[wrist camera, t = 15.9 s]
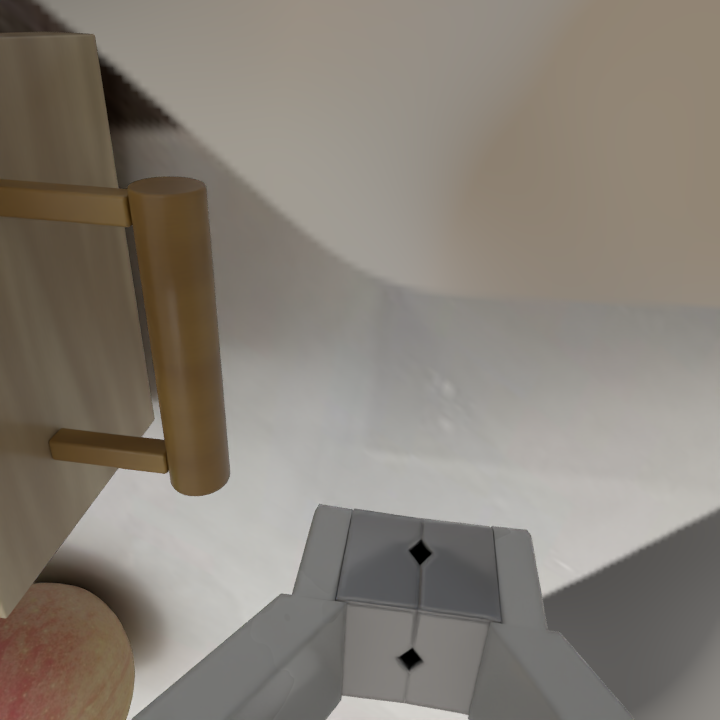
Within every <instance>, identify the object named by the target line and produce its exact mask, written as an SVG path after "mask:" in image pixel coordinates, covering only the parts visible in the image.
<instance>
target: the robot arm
mask: <svg viewBox="0 0 720 720" xmlns="http://www.w3.org/2000/svg"><path fill="white" fill-rule="evenodd" d="M341 696H351V697H359V698H367V699H375V700H383V701H392V702H400V703H407V704H412V705H418V706H423V707H429V708H434V709H440V710H445V711H451V712H457V713H462V714H468V715H469V717H468V719H469V720H635V719H634V718H633V716H632V715H631V714H630V713H629V712H628V711H627V709H626V708H625V707H624V706H623V705H622V704H621V702H620V701H619V700H618V699H617V698H616V697H615V695H614V694H613V693H612V692H611V691H610V690H609V688H608V687H607V686H606V685H605V684H604V683H603V682H602V681H601V679H600V678H599V677H598V676H597V675H596V673H595V672H594V671H593V670H592V669H591V668H590V666H589V665H588V664H587V663H586V662H585V661H584V660H583V658H582V657H581V656H580V655H579V654H578V653H577V651H576V650H575V649H574V648H573V647H572V646H571V644H570V643H569V642H568V641H567V640H566V639H565V638H564V636H563V635H562V634H561V633H560V632H556V631H550V630H548V627H547V622H546V616H545V611H544V605H543V599H542V594H541V588H540V583H539V577H538V572H537V566H536V560H535V555H534V549H533V544H532V538H531V535H530V533H529V532H528V531H527V530H522V529H513V528H504V527H495V526H492V527H489V526H483V525H474V524H466V523H457V522H449V521H440V520H431V519H423V518H414V517H407V516H400V515H394V514H387V513H380V512H374V511H367V510H360V509H354V510H353V509H348V508H341V507H335V506H328V505H322V504H319V505H318V507H317V509H316V510H315V513H314V516H313V520H312V523H311V527H310V531H309V534H308V538H307V542H306V545H305V549H304V553H303V556H302V560H301V563H300V567H299V571H298V574H297V578H296V582H295V585H294V589H293V593H292V595H289V594H280V595H279V596H278V597H276V598H275V599H274V600H273V601H272V602H270V603H269V604H268V605H267V606H266V607H265V608H263V609H262V610H261V611H260V612H259V613H257V614H256V615H255V616H254V617H253V618H251V619H250V620H249V621H248V622H247V623H245V624H244V625H243V626H242V627H241V628H239V629H238V630H237V631H236V632H235V633H234V634H232V635H231V636H230V637H229V638H228V639H226V640H225V641H224V642H223V643H222V644H220V645H219V646H218V647H217V648H216V649H214V650H213V651H212V652H211V653H210V654H208V655H207V656H206V657H205V658H204V659H203V660H201V661H200V662H199V663H198V664H197V665H195V666H194V667H193V668H192V669H191V670H189V671H188V672H187V673H186V674H185V675H183V676H182V677H181V678H180V679H179V680H178V681H176V682H175V683H174V684H173V685H172V686H170V687H169V688H168V689H167V690H166V691H164V692H163V693H162V694H161V695H160V696H158V697H157V698H156V699H155V700H154V701H152V702H151V703H150V704H149V705H148V706H147V707H145V708H144V709H143V710H142V711H141V712H139V713H138V714H137V715H136V716H135V717H133V718H132V720H326V719H327V717H328V716H329V715H330V714H331V712H332V711H333V710H334V708H335V707H336V706H337V705H338V703H339V702H340V701H341Z"/></svg>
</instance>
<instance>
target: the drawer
mask: <svg viewBox="0 0 720 720" xmlns="http://www.w3.org/2000/svg"><path fill="white" fill-rule="evenodd" d="M132 225H133V232H134V239H135V245H136V252H137V259H138V265H139V272H140V279H141V286H142V292H143V299H144V306H145V312H146V319H147V326H148V333H149V339H150V346H151V353H152V360H153V366H154V373H155V380H156V386H157V393H158V400H159V407H160V413H161V420H162V427H163V433H164V440H160V439H152V438H143V437H142V436H143V434H144V433H145V432H146V430H147V429H148V428H149V426H150V425H151V424H152V422H153V421H154V419H155V418H154V412H153V406H152V399H151V393H150V386H149V380H148V374H147V367H146V361H145V354H144V348H143V341H142V335H141V329H140V322H139V316H138V309H137V303H136V296H135V290H134V284H133V277H132V271H131V264H130V258H129V252H128V245H127V239H126V232H125V227H130V226H132ZM118 468H123V469H131V470H139V471H147V472H155V473H163V474H165V473H167V472H168V471H169V474H170V480H171V484H172V486H173V487H174V489H175V490H177V491H178V492H179V493H182V494H184V495H188V496H203V495H207V494H211V493H213V492H215V491H217V490H219V489H220V488H222V487H223V486H224V485H225V484H226V483H227V481H228V479H229V477H230V464H229V452H228V440H227V428H226V416H225V404H224V392H223V380H222V368H221V356H220V344H219V332H218V320H217V308H216V296H215V284H214V272H213V260H212V248H211V236H210V224H209V212H208V200H207V188H206V185H205V183H203V182H202V181H199V180H196V179H192V178H186V177H153V178H146V179H141V180H138V181H135V182H133V183H131V184H129V185H128V188H127V189H121V188H119V187H118V181H117V175H116V168H115V162H114V155H113V149H112V142H111V136H110V130H109V123H108V117H107V110H106V104H105V97H104V91H103V85H102V78H101V72H100V65H99V59H98V53H97V46H96V40H95V35H93V34H83V33H65V32H13V33H0V618H7V617H8V616H9V615H10V613H11V612H12V611H13V609H14V608H15V607H16V605H17V604H18V602H19V601H20V600H21V598H22V597H23V596H24V594H25V593H26V592H27V590H28V589H29V588H30V586H31V585H32V584H33V582H34V581H35V580H36V578H37V577H38V576H39V574H40V573H41V572H42V570H43V569H44V568H45V566H46V565H47V563H48V562H49V561H50V559H51V558H52V557H53V555H54V554H55V553H56V551H57V550H58V549H59V547H60V546H61V545H62V543H63V542H64V541H65V539H66V538H67V537H68V535H69V534H70V533H71V531H72V530H73V529H74V527H75V526H76V524H77V523H78V522H79V520H80V519H81V518H82V516H83V515H84V514H85V512H86V511H87V510H88V508H89V507H90V506H91V504H92V503H93V502H94V500H95V499H96V498H97V496H98V495H99V494H100V492H101V491H102V490H103V488H104V487H105V485H106V484H107V483H108V481H109V480H110V479H111V477H112V476H113V475H114V473H115V472H116V471H117V469H118Z"/></svg>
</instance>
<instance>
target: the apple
mask: <svg viewBox="0 0 720 720" xmlns="http://www.w3.org/2000/svg"><path fill="white" fill-rule="evenodd" d="M134 679H135V668H134V658H133V653H132V649H131V646H130V643H129V640H128V637H127V635H126V633H125V631H124V629H123V626H122V624H121V623H120V621H119V619H118V618H117V616H116V615H115V614H114V613H113V611H112V610H111V609H110V608H109V607H108V606H107V605H106V603H104V602H103V601H102V600H101V599H100V598H98V597H97V596H96V595H94V594H93V593H91V592H90V591H87V590H85V589H83V588H80V587H76V586H72V585H66V584H60V583H33V584H32V585H31V586H30V588H29V589H28V590H27V592H26V593H25V594H24V596H23V597H22V598H21V600H20V601H19V602H18V604H17V605H16V607H15V608H14V609H13V611H12V612H11V613H10V615H9V616H8V617H7V618H0V720H126V718H127V715H128V712H129V709H130V705H131V700H132V696H133V689H134Z"/></svg>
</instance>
